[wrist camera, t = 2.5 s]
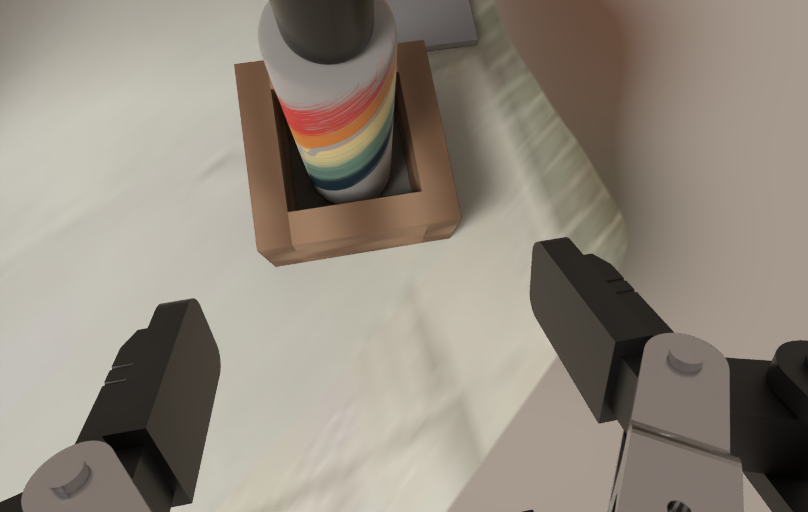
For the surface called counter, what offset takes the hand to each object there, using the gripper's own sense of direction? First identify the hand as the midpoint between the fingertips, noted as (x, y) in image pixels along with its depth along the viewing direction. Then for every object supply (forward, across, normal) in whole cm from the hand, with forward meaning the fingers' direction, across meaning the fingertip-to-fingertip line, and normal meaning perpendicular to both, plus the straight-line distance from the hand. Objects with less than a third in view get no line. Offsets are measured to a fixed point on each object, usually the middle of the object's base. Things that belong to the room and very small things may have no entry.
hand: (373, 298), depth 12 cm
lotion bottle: (+23, 0, +6) cm, 24 cm away
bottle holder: (+23, 0, +6) cm, 24 cm away
